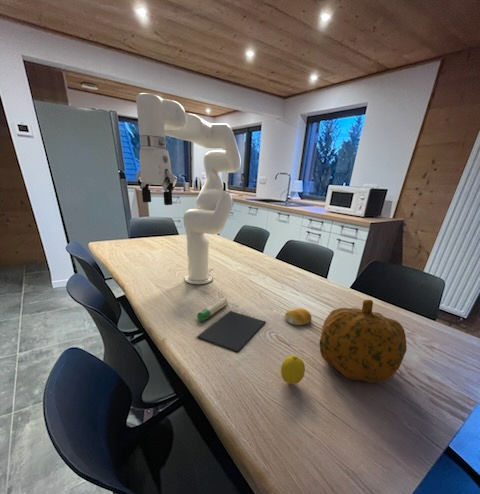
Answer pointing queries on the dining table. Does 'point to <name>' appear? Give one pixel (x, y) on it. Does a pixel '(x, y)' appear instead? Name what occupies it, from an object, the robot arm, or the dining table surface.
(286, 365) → the lemon
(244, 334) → the felt mat
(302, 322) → the bread roll
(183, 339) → the dining table surface
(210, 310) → the marker
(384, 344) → the decorative pumpkin
